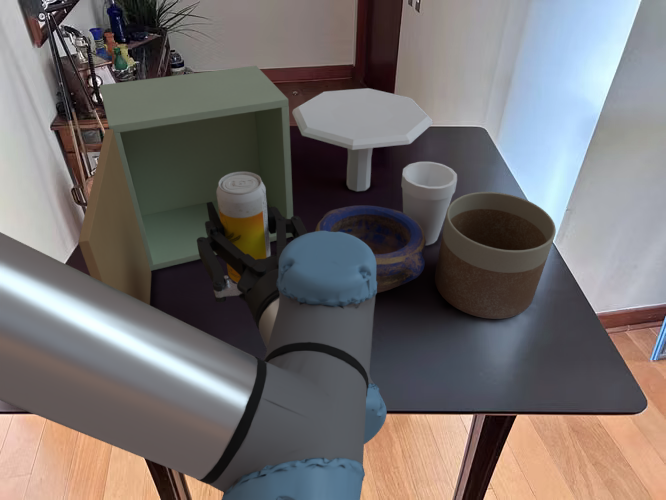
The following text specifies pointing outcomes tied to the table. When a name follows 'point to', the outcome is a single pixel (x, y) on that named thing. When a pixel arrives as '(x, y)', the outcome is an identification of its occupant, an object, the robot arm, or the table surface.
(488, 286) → the planter
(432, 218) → the foam cup
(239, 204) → the beer can
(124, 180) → the cupboard door
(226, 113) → the cupboard
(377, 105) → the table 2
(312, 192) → the table surface
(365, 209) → the bowl
